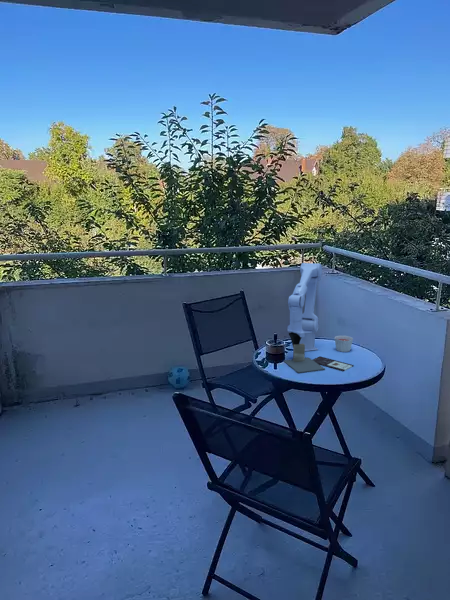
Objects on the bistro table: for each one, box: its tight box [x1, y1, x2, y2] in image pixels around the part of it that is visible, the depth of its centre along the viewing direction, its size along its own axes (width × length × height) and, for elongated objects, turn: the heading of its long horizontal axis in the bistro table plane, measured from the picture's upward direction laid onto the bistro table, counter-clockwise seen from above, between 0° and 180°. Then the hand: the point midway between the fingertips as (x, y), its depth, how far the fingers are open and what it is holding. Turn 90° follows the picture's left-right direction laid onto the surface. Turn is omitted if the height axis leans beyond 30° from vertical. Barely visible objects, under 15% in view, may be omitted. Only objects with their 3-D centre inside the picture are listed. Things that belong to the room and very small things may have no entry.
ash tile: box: [292, 344, 306, 362], centre depth 195 cm, size 2×5×8 cm, turn 106°
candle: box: [334, 335, 354, 353], centre depth 212 cm, size 9×9×6 cm
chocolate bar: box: [312, 356, 355, 372], centre depth 193 cm, size 9×1×18 cm
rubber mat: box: [283, 357, 326, 374], centre depth 192 cm, size 16×13×1 cm
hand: (295, 347), depth 199 cm, fingers closed
